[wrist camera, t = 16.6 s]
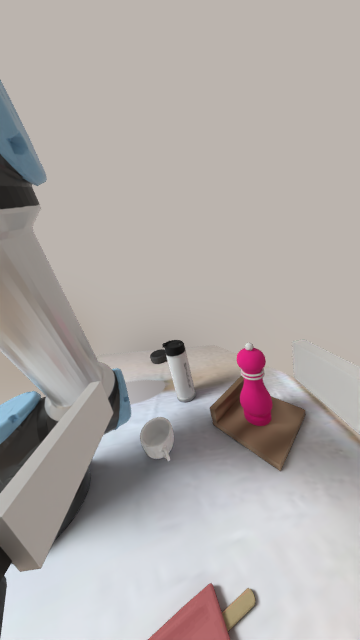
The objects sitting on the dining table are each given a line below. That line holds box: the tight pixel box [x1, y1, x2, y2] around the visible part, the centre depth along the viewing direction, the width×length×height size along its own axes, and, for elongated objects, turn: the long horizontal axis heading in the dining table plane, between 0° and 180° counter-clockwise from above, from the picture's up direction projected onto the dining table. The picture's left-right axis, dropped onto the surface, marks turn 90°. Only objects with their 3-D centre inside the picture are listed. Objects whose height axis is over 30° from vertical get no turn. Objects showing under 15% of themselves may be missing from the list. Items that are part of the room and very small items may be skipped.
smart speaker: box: [150, 349, 167, 364], centre depth 85 cm, size 9×9×4 cm
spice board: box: [210, 376, 305, 471], centre depth 41 cm, size 16×16×6 cm
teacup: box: [140, 417, 174, 461], centre depth 39 cm, size 10×8×5 cm
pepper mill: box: [237, 343, 273, 426], centre depth 39 cm, size 7×7×20 cm
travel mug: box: [163, 340, 195, 402], centre depth 53 cm, size 6×7×20 cm
